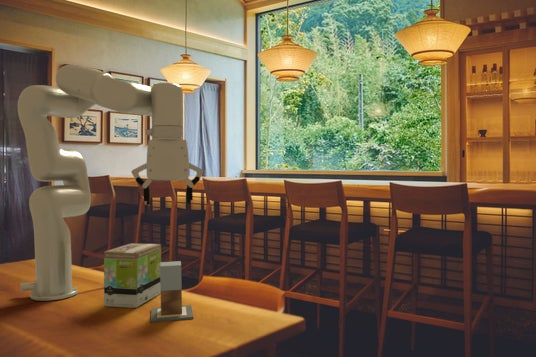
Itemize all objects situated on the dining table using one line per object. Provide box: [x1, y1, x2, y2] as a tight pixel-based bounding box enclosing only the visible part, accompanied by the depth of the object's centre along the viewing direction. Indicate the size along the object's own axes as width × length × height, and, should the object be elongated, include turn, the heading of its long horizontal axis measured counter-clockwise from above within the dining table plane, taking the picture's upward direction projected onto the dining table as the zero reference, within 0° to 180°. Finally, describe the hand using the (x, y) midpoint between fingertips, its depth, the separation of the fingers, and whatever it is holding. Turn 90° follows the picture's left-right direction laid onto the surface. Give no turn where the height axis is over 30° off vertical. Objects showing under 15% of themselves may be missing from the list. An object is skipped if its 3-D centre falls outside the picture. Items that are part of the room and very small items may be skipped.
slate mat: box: [149, 304, 194, 323], centre depth 119 cm, size 10×10×1 cm
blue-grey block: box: [160, 260, 183, 291], centre depth 118 cm, size 5×5×6 cm
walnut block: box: [160, 289, 183, 316], centre depth 119 cm, size 5×5×6 cm
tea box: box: [103, 242, 162, 309], centre depth 132 cm, size 15×10×15 cm, turn 168°
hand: (168, 203), depth 118 cm, fingers open, 9 cm apart
